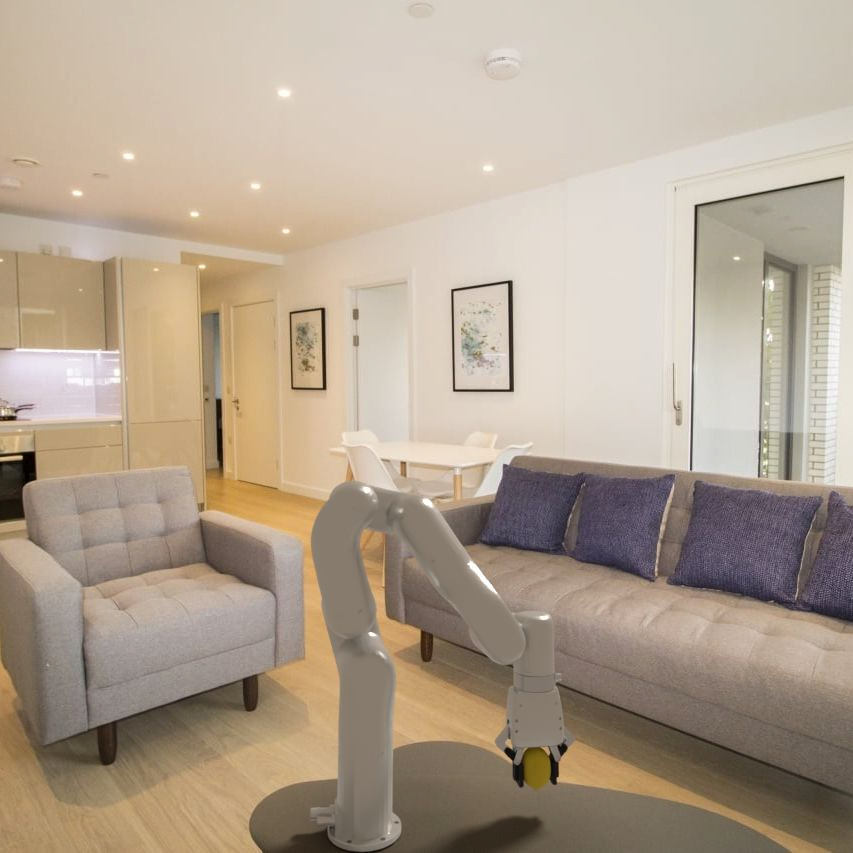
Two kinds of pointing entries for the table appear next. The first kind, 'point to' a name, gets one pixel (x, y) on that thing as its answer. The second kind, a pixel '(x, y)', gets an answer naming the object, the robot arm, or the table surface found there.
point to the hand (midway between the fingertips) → (535, 781)
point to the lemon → (536, 767)
